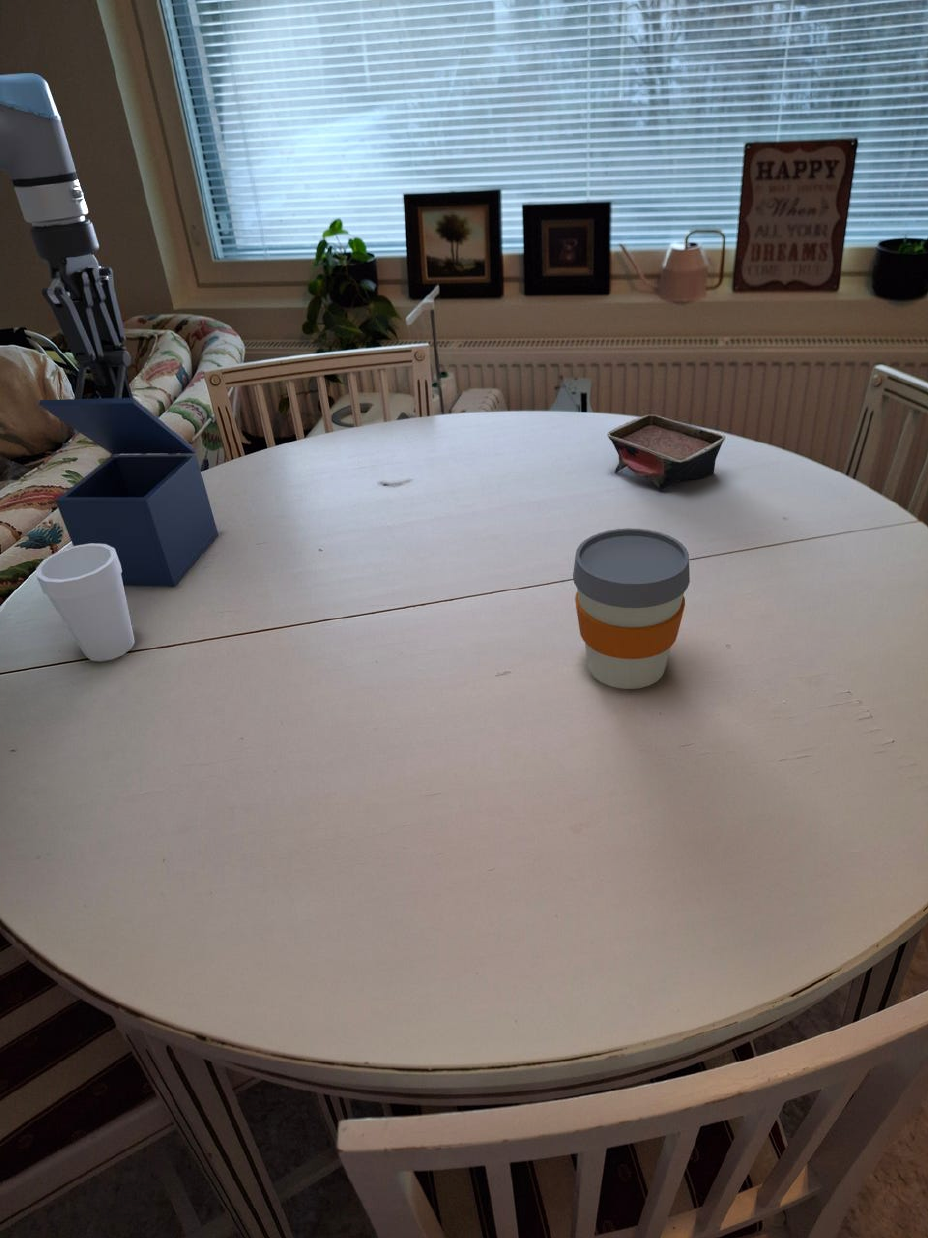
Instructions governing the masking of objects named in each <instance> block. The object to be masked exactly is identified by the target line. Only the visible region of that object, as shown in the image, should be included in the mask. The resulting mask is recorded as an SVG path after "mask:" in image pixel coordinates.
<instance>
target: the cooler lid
mask: <svg viewBox="0 0 928 1238" xmlns="http://www.w3.org/2000/svg"><path fill="white" fill-rule="evenodd" d="M103 355H104V359H109V361H110V364H111V367H119V368H118V375H117V381H116V388H115V395H114V398H105V399H101V398H83V395H84V388H85V382H86V381H85V380H86V375H87V369H90V368H89V365H88V363H87V362H80V361H76V363H77V365H78V366H79V368H78V372H77V379H76V386H75V392H74V397H73V398H69V399H68V398H67V399H66V398H65V399H64V398H63V399H39V402H38V406H40V407H41V408H42V409H44V410H45V411H47V412H48V413H50V414H51V415H52V416H54V417H55V418H57V419H59V420H60V421H62V422H63V423H64V424H66V425H68V426H69V427H71V428H72V429H73V430H75V431H77V433H80V434H81V435H83V437H85V438H87V439H88V440H90V441H91V442H93V443H94V444H95V445H98V446H99V447H101V448H102V449H103V450H105V451H106V452H107V453H109V454H111V455H144V454H196V448H195V447H194V446H193V445H192V444H191V443H190V442H188V441H187V440H186V439H185V438H183V436H181V435H180V434H178V433H177V432H176V431H175V430H174V429H172V428H171V427H170V426H168V425H167V424H166V423H165V422H164V421H163V420H161V419H160V418H159V417H158V416H157V415H155V414H154V413H153V412H152V411H150V410H149V409H148V408H147V407H146V406H144V405H143V404H142V403H141V402H139V401H138V400H137V399H136V398H135V397H133V398H121V397H122V390H123V384H124V377H125V373H126V370H127V367H130V365H131V364H132V358H131V354H130V353H129V352H128V351H127V350H125V351H114V352H103Z"/></svg>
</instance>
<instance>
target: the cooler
mask: <svg viewBox="0 0 928 1238" xmlns="http://www.w3.org/2000/svg"><path fill="white" fill-rule="evenodd" d="M54 501H55V504H56V507H57V509H58V511H59V514H60V516H61V519H62V521H63V524H64V527H65V529H66V531H67V534H68V535H69V536H68V537H69V539H70V541H71V543H72V547H73V546H78V545H84V544H90V543H95V544H107V545H109V546H111V547H113V548H115V551H116V554H117V556H118V559H119V562H120V565H121V569H122V572H121V577H122V582H123V586H128V587H129V586H131V587H132V586H136V587H176V586H177V584H178V583H179V582H180V581H181V580H182V579H183V577H184V576H185V575H186V574H187V573H188V571H189V570H190V569H191V568H192V567H193V565H194V564H195V563H196V562H197V561H198V559H199V558H200V557H201V556H202V555H203V554H204V552H205V551H206V550H207V549H208V547H210V545H211V544H212V543H213V541H214V540H215V539H216V538H217V537H218V535H219V532H218V529H217V523H216V521H215V518H214V514H213V511H212V507H211V503H210V500H209V496H208V493H207V489H206V485H205V482H204V478H203V475H202V471H201V466H200V463H199V460H198V457H197V453H175V454H111V455H110V457H107V458H106V459H105V460H104V461H103V462H102V463H101V464H99V465H98V466H97V467H96V468H94V469H93V470H92V471H91V472H89V473H88V474H86V475H85V476H84V477H83V478H82V479H80V480H79V481H78V482H77V483H75V484H74V485H73V486H71V487H70V488H69V489H67V490H66V491H65V492H63V493H62V494H61V495H60V496H59V497H58V498H56V499H55V500H54Z"/></svg>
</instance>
